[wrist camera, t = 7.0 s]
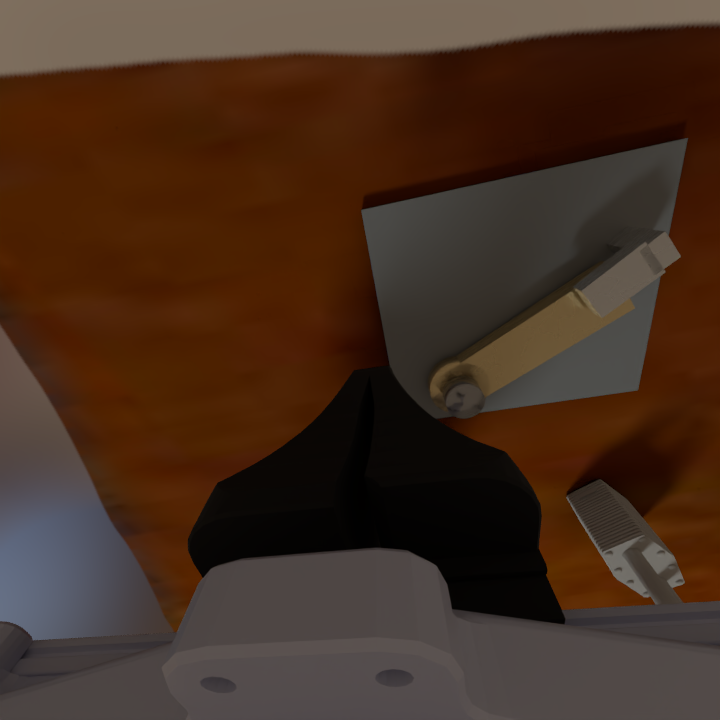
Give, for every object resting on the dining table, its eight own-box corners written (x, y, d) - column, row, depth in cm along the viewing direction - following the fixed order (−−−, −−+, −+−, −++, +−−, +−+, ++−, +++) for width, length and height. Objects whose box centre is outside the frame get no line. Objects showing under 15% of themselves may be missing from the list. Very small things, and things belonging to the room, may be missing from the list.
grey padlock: (557, 496, 27) (648, 647, 18) (605, 472, 26) (729, 622, 17) (598, 539, 29) (696, 692, 20) (644, 519, 28) (771, 673, 19)
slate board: (631, 385, 22) (637, 390, 22) (399, 418, 24) (400, 423, 23) (677, 139, 16) (687, 138, 15) (361, 209, 18) (361, 210, 17)
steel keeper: (575, 303, 19) (602, 317, 17) (556, 279, 19) (581, 290, 16) (643, 251, 18) (682, 259, 16) (625, 223, 17) (663, 228, 15)
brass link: (447, 413, 23) (450, 422, 22) (416, 377, 21) (418, 385, 20) (624, 306, 19) (637, 312, 18) (598, 256, 18) (610, 259, 17)
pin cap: (480, 403, 21) (485, 415, 20) (444, 409, 21) (447, 420, 20) (478, 373, 20) (484, 383, 19) (440, 379, 20) (444, 389, 19)
